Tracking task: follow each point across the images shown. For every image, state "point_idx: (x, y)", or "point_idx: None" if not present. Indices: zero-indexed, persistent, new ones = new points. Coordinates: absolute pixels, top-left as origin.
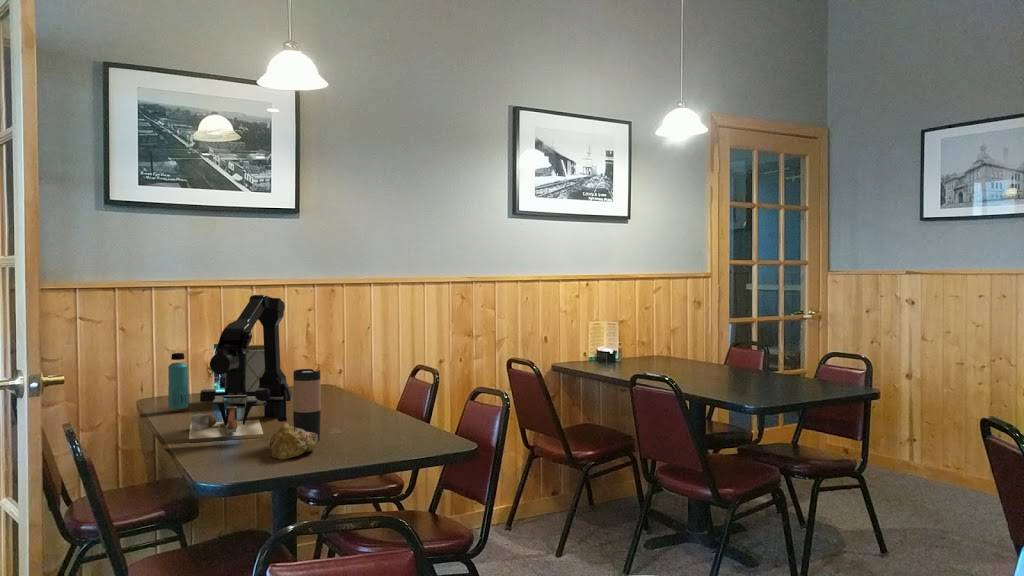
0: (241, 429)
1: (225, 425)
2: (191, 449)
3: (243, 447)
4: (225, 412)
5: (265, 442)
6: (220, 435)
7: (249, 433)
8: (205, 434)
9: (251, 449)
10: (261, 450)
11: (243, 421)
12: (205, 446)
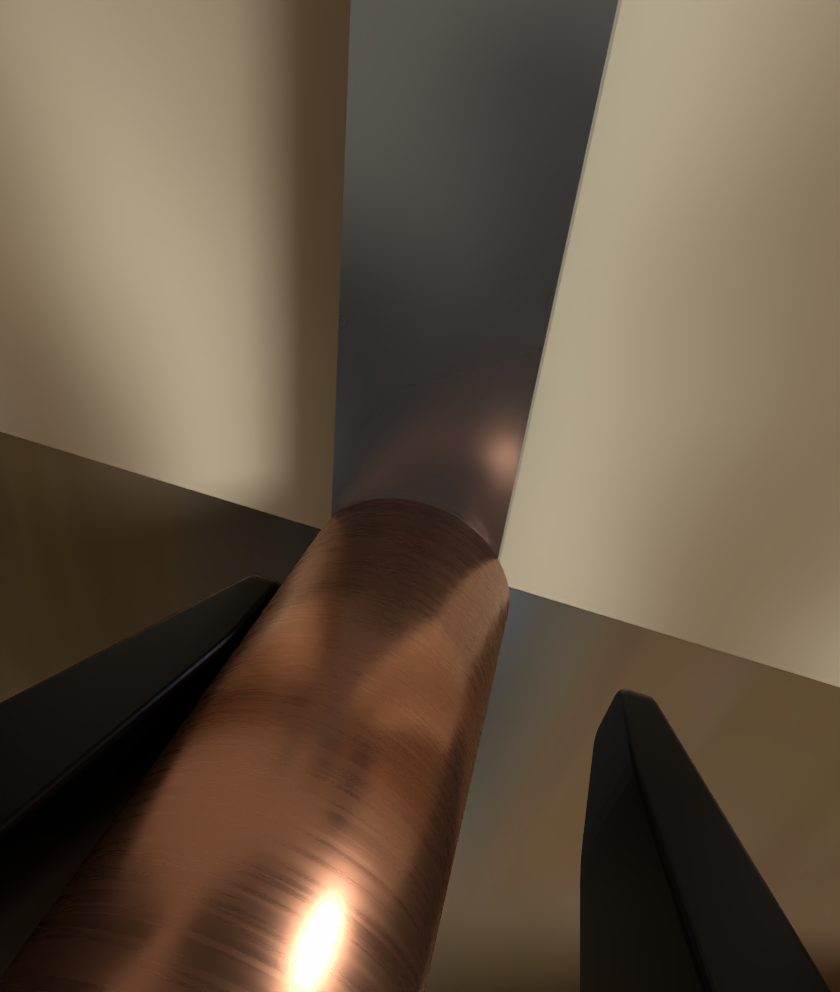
0: (836, 18)
1: (356, 79)
2: (40, 648)
3: (469, 849)
4: (82, 846)
5: (762, 842)
6: (278, 430)
7: (748, 561)
8: (48, 209)
9: (509, 927)
10: (570, 986)
11: (595, 821)
12: (144, 623)
